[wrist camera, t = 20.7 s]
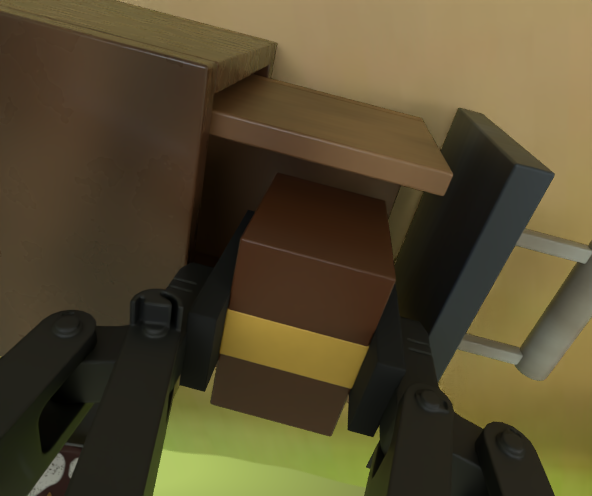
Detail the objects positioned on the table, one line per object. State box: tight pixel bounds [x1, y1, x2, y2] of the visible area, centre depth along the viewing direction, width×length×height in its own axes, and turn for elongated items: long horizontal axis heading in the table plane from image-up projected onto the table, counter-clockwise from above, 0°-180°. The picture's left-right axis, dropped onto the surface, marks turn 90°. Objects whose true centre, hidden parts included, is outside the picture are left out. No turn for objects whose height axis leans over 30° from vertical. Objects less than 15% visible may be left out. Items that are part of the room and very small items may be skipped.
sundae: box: [28, 403, 99, 496], centre depth 24 cm, size 7×7×15 cm
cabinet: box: [0, 0, 277, 398], centre depth 19 cm, size 15×13×10 cm
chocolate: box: [210, 173, 396, 436], centre depth 15 cm, size 6×4×6 cm, turn 167°
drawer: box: [194, 74, 592, 403], centre depth 19 cm, size 20×12×8 cm, turn 77°
